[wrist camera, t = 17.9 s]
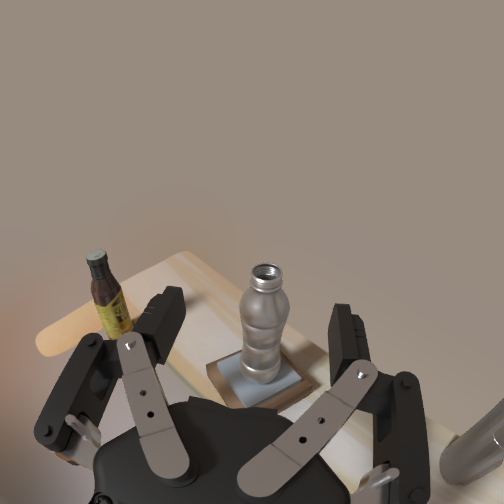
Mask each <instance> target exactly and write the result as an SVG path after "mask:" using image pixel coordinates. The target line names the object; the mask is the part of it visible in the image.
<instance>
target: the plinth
mask: <svg viewBox="0 0 504 504" xmlns="http://www.w3.org/2000/svg"><path fill="white" fill-rule="evenodd" d="M241 353H242V350H240V351H237V352H235V353H233V354H230V355H228V356H226V357H223V358H221V359H219V360H216V361H214V362H211V363H209V364H206V369H207V375H208V377H209V379H210V380H211V382H212V383H213V385H214V387H215V388H216V390H217V391H218V393H219V394H220V396H221V397H222V399H223V400H224V402H225V403H226V405H227V406H228V408H232V409H236V408H248V407H262V408H271V409H278V412H277V414H278V413H280V412H281V411H283V410H285V409H287V408H288V407H290V406H292V405H293V404H295V403H297V402H298V401H300V400H302V399H303V398H305V397H306V396H308V395H309V393H310V391H311V388H312V385H313V384H312V383H311V382H310V381H309V380H308V379H307V378H306V377H305V376H304V375H303V374H302V373H301V372H300V371H299V370H298V369H297V368H296V367H295V366H294V365H293V364H292V362H291V361H290V360H289V359H288V358H287V357H286V356H285V355H284V354H283V353H282V352H281V351H280V357H281V367H280V370H279V372H278V374H277V376H276V377H275V378H274V379H273V380H272V381H270V382H269V383H266V384H253V383H250V382H248V381H247V380H246V379H245V378H244V377H243V376H242V374H241V372H240V368H239V360H240V355H241Z"/></svg>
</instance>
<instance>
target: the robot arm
mask: <svg viewBox="0 0 504 504" xmlns="http://www.w3.org/2000/svg"><path fill="white" fill-rule="evenodd" d="M185 315H186V307H185V302H184V296H183V291H182V288H181V287H174V286H167V287H166V289H165V290H164V292H163V294H157V295H156V296H154V297H153V298H152V299H151V300H150V302H149V303H148V305H147V307H146V308H145V310H144V312H143V313H142V315H141V316H140V318H139V319H138V321H137V323H136V324H135V326H134V328H133V330H132V331H131V332H127V333H124V334H123V335H121V336H120V337H119V338H118V340H103V338H102V336H101V335H100V334H98V333H89V334H87V335H85V336H84V337H83V338H82V339H81V340H80V342H79V344H78V345H77V347H76V349H75V351H74V352H73V354H72V356H71V357H70V359H69V361H68V363H67V364H66V366H65V368H64V370H63V372H62V373H61V375H60V377H59V379H58V381H57V382H56V384H55V386H54V388H53V390H52V392H51V394H50V396H49V398H48V400H47V401H46V404H45V406H44V408H43V410H42V412H41V414H40V416H39V418H38V420H37V422H36V424H35V427H34V436H35V438H36V440H37V441H38V442H39V443H40V444H42V445H43V446H44V447H46V448H47V449H48V450H49V451H50V452H52V453H53V454H55V455H56V456H58V457H59V458H61V459H63V460H65V461H67V462H68V463H70V464H72V465H81V466H84V467H85V468H88V469H90V470H92V471H93V472H94V479H95V490H94V495H93V497H92V499H91V501H90V502H89V503H88V504H427V502H428V500H429V498H430V465H429V450H428V439H427V430H426V422H425V415H424V408H423V401H422V395H421V391H420V384H419V381H418V379H417V377H416V376H415V375H414V374H412V373H410V372H405V371H404V372H400V373H398V374H397V375H396V376H391V375H388V374H384V373H381V372H379V371H378V370H377V368H376V366H375V365H374V364H373V363H371V360H370V354H369V348H368V343H367V338H366V333H365V328H364V323H363V321H362V320H361V318H360V317H359V315H354V314H353V315H352V314H351V310H350V305H349V304H336V303H335V305H334V308H333V312H332V315H331V319H330V323H329V328H328V343H329V361H330V383H331V389H330V390H329V391H325V392H324V393H323V394H322V395H321V396H320V397H319V398H318V399H317V400H316V401H315V402H314V404H313V405H312V406H311V407H310V408H309V409H308V410H307V411H306V412H305V413H304V414H303V415H302V416H301V417H300V418H299V419H298V420H297V421H296V422H295V423H293V422H292V421H290V420H289V419H287V418H285V417H283V416H280V415H277V412H278V409H271V408H262V407H248V408H236V409H232V408H228V407H226V406H224V405H221V404H219V403H216V402H214V401H212V400H208V399H203V398H198V397H192V396H189V399H188V401H185V402H178V403H175V404H172V405H169V403H168V401H167V399H166V396H165V394H164V391H163V389H162V386H161V384H160V381H159V378H158V376H157V373H156V370H155V367H156V364H157V363H159V364H163V365H164V364H165V362H166V360H167V357H168V355H169V353H170V350H171V348H172V346H173V344H174V341H175V339H176V337H177V335H178V332H179V330H180V328H181V326H182V324H183V321H184V319H185ZM118 378H122V380H123V384H124V388H125V391H126V395H127V398H128V402H129V405H130V409H131V412H132V415H133V418H134V421H135V424H136V426H135V427H133V428H131V429H130V430H128V431H126V432H125V433H123V434H121V435H119V436H118V437H116V438H114V439H112V440H111V441H109V442H107V443H105V444H104V445H102V446H101V445H100V444H101V432H100V430H99V429H98V426H99V423H100V421H101V418H102V416H103V413H104V411H105V408H106V406H107V404H108V401H109V399H110V396H111V394H112V392H113V389H114V387H115V385H116V382H117V380H118ZM356 409H358V410H361V411H365V412H368V413H372V414H373V469H372V470H371V471H369V472H367V473H366V474H365V475H364V476H363V477H362V479H361V481H360V484H359V487H358V489H357V491H356V492H355V493H354V494H350V493H349V491H348V489H347V488H346V486H345V485H344V484H343V483H342V481H341V480H340V479H339V478H338V477H337V475H336V474H335V473H334V472H333V471H332V469H331V468H330V467H329V466H328V464H327V463H326V462H325V461H324V459H323V458H322V457H321V456H320V454H319V453H320V452H321V451H322V450H323V449H324V448H325V447H326V445H327V444H328V443H329V442H330V441H331V440H332V438H333V437H334V436H335V435H336V434H337V432H338V431H339V430H340V429H341V428H342V426H343V425H344V424H345V423H346V421H347V420H348V419H349V418H350V416H351V415H352V414H353V413H354V411H355V410H356ZM503 459H504V398H503V399H502V400H501V401H500V402H499V403H498V404H497V405H496V406H495V407H494V408H493V409H492V410H491V411H490V412H489V413H488V414H487V415H486V416H485V417H483V418H482V419H481V420H480V421H479V422H478V423H477V424H475V425H474V426H473V427H472V428H470V430H468V431H467V432H466V433H464V434H463V435H462V436H461V437H459V438H458V439H456V440H455V441H454V442H453V443H451V444H450V445H449V446H448V447H447V448H446V449H445V450H444V452H443V453H442V456H441V459H440V470H441V474H442V476H443V477H444V479H445V480H446V481H448V482H449V483H451V484H463V485H464V486H465V485H467V484H469V483H471V482H473V481H475V480H477V479H479V478H481V477H483V476H484V475H486V474H488V473H490V472H491V471H493V470H495V469H496V468H498V467H499V466H500V465H501V464H502V461H503Z"/></svg>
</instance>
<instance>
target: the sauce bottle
mask: <svg viewBox="0 0 504 504" xmlns="http://www.w3.org/2000/svg"><path fill="white" fill-rule="evenodd" d="M107 259H108V257H107V254H106V251H104V250H102V249H97V250H94V251H92V252H90V253H88V254H87V256H86V260H87V264H88V265H89V267H90V270H91V275H92V278H93V280H92V283H91V293H92V296H93V299H94V303H95V306H96V308H97V311H98V314H99V316H100V319H101V322H102V324H103V327H104V329H105V331H106V333H107V335H108V337H109V339H110V340H118V338H119V337H120V336H121V335H123V334H124V333H127V332H131V331H132V330H133V325H132V322H131V319H130V316H129V312H128V309H127V306H126V303H125V299H124V296H123V292H122V289H121V286H120V285H119V283H118V282H117V280H116V279H115V278H114V276H113V275H112V273H111V271H110V269H109V265H108V261H107Z"/></svg>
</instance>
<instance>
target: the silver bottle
mask: <svg viewBox="0 0 504 504" xmlns="http://www.w3.org/2000/svg"><path fill="white" fill-rule="evenodd" d="M250 286H251V287H249V288H248V289H247V291H246V292H245V293H244V294H243V296H242V298H241V301H240V304H239V310H240V317H241V322H242V327H243V347H242V353H241V355H240V360H239V368H240V372H241V374H242V376H243V377H244V378H245V379H246V380H247V381H248V382H250V383H253V384H266V383H269V382H270V381H272V380H273V379H274V378H275V377H276V376H277V374H278V372H279V370H280V367H281V357H280V341H281V336H282V332H283V329H284V326H285V323H286V320H287V317H288V314H289V309H290V306H289V300H288V297H287V295H286V294H285V292H284V291H283V290H282V288H281V287H282V270H281V268H280V267H279V266H277V265H275V264H272V263H260V264H257V265H255V266H254V267H253V268H252V271H251V279H250Z"/></svg>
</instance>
